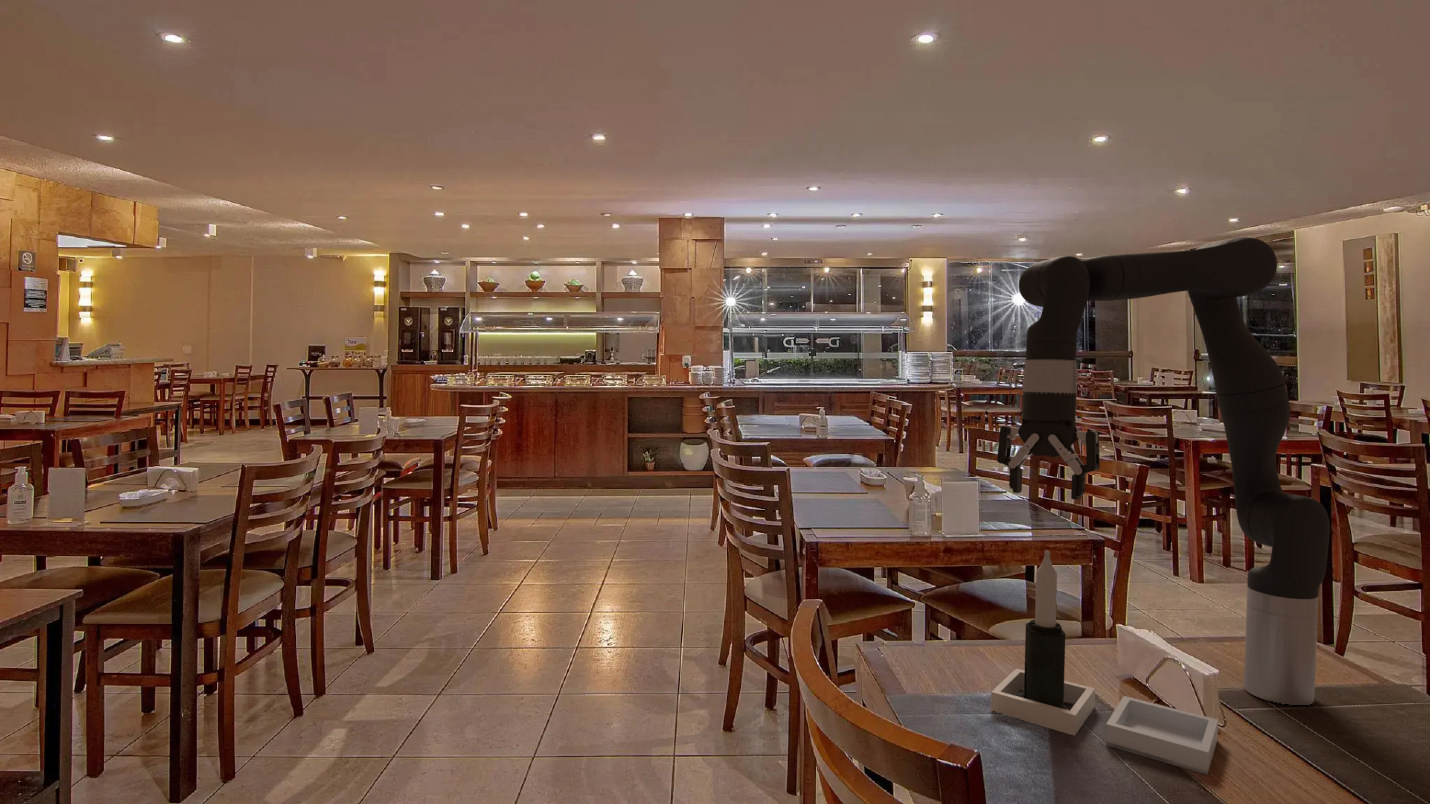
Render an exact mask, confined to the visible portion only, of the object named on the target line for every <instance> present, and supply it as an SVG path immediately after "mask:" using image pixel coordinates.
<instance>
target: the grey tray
mask: <svg viewBox="0 0 1430 804" xmlns="http://www.w3.org/2000/svg"><path fill="white" fill-rule="evenodd" d="M1218 734H1219V719H1216V718H1212V717H1209V716H1205V715H1201V714H1196V713H1192V712H1189V711H1185V710H1183V709H1182V710H1181V709H1178V708H1174V707H1170V706H1166V705H1162V704H1157V703H1154V702H1150V701H1147V700H1142V699H1137V698H1134V697H1131V696H1126V695H1123V696H1122V697H1121V700H1120V701H1119V702H1118V704H1117V706H1116V708H1115V709H1114V711H1113V712H1112V714H1111V716H1110V717H1109V719H1108V720H1107V722H1106V724H1105V745H1106V746H1108V747H1111V748H1115V749H1119V750H1122V751H1125V752H1129V753H1132V754H1135V755H1139V756H1142V757H1144V758H1145V757H1146V758H1147V759H1148V758H1149V759H1153V760H1156V761H1158V762H1159V761H1160V762H1163V763H1165V764H1169V765H1173V766H1176V767H1179V768H1183V769H1187V770H1189V771H1193V772H1196V773H1200V774H1203V775H1206V776H1208V775H1209V771H1210V768H1211V765H1212V761H1213V758H1214V754H1215V750H1216V746H1217V743H1218V739H1219V736H1218Z"/></svg>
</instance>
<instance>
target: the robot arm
mask: <svg viewBox="0 0 1430 804" xmlns="http://www.w3.org/2000/svg"><path fill="white" fill-rule="evenodd" d="M1277 268H1278V261H1277V255H1276V253H1275V251H1274V249H1273V248H1272V247H1271V246H1270V245H1269V244H1268V243H1267V242H1265V241H1263V240H1261V239H1259V238H1255V237H1246V236H1245V237H1237V238H1235V237H1234V238H1231V239H1227V240H1222V241H1218V242H1215V243H1209V244H1206V245H1201V246H1199V247H1197V248H1195V249H1187V250H1179V251H1178V250H1176V251H1163V252H1162V251H1161V252H1159V251H1157V252H1140V253H1138V252H1137V253H1120V254H1119V253H1118V254H1108V255H1107V254H1106V255H1105V254H1104V255H1099V256H1098V255H1097V256H1094V257H1089V258H1085V259H1080V258H1078V257H1076V256H1072V255H1062V256H1057V257H1053V258H1050V259H1049V258H1048V259H1046V260H1041V261H1038V262H1034V263H1033V264H1031V265H1029V266H1028V267H1027V268H1026V269H1025V270H1023V272H1022V274H1021V276H1020V278H1019V279H1018V280H1019V281H1018V291H1019V294H1020V295H1021V296H1022V297H1021V298H1022V299H1023V300H1025V302H1027V303H1029V304H1030V305H1032V306H1036V307H1040V308H1042V309H1041V310H1042V311H1041V315H1040V317H1039V319H1038V320H1036V321H1035V322H1033V323H1031V324H1030V325H1029V327H1028V328H1027V331H1026V337H1025V338H1026V340H1025V341H1026V345H1025V346H1026V347H1025V362H1024V370H1023V377H1022V378H1023V379H1022V385H1021V388H1022V404H1021V405H1022V406H1021V407H1022V408H1021V425H1020V426H1019V427H1018V426H1017V427H1016V426H1012V425H1002V426H1001V427H1000V428H999V434H998V435H999V437H998V444H997V445H998V446H997V447H998V448H997V457H996V461H997V463H998V464H1002V465H1004V466H1007V467H1008V469H1009V475H1008V477H1009V478H1008V479H1009V480H1008V481H1009V482H1008V486H1009V489H1011V490H1012V493H1014V494H1019V493H1022V489H1023V468H1021V467H1022V465H1023V464H1025V461H1027V460H1028V459H1029V458H1030V457H1031V456H1032V455H1034V456H1035V457H1041V456H1046V457H1050V458H1060V457H1061V459H1062V460H1063V461H1064V462H1065V463H1066V464H1067V465H1068V467H1069V468H1070V470H1071V471H1072V472H1073V474H1072V475H1071V491H1070V492H1071V493H1070V494H1071V495H1070V498H1071V500H1073V501H1074V500H1076V501H1078V500H1080V498H1081V497H1082V496H1083V495H1084V494H1085V491H1086V475H1087V474H1088V473H1091V472H1095V471H1098V470H1100V468H1101V467H1100V466H1101V465H1100V463H1101V462H1100V460H1101V459H1100V456H1101V455H1100V433H1099V432H1098V430H1095V429H1094V430H1088V431H1087V430H1086V431H1085V430H1084V431H1081V430H1080V431H1079V430H1078V428H1077V426H1076V422H1077V421H1076V420H1077V419H1076V418H1077V395H1078V393H1077V392H1078V370H1077V348H1078V347H1077V345H1078V342H1077V341H1078V339H1077V338H1078V336H1077V334H1078V330H1079V328H1080V325H1081V323H1082V319H1083V316H1084V313H1085V309H1086V306H1087V302H1111V301H1122V300H1124V301H1125V300H1134V299H1142V298H1148V297H1153V296H1154V297H1155V296H1160V295H1166V294H1174V293H1179V292H1187V294H1188V297H1189V300H1190V302H1191V305H1192V308H1193V311H1194V314H1195V316H1196V319H1197V322H1198V325H1199V328H1200V330H1201V333H1202V334H1201V335H1202V338H1203V341H1204V345H1205V349H1206V353H1207V356H1208V361H1209V364H1210V369H1211V373H1212V377H1213V378H1212V379H1213V383H1214V389H1215V395H1216V398H1217V402H1218V403H1217V404H1218V408H1219V412H1220V416H1221V419H1222V422H1223V427H1224V432H1225V437H1226V438H1225V439H1226V443H1227V447H1228V454H1229V458H1230V459H1229V460H1230V463H1231V464H1230V465H1231V469H1232V470H1231V471H1232V479H1233V481H1232V482H1233V490H1234V500H1235V501H1234V502H1235V510H1236V511H1235V512H1236V517H1237V521H1238V524H1239V527H1240V529H1241V531H1242V532H1243V533H1242V534H1244V535H1245V536H1246V537H1247V538H1248V539H1249V540H1250V541H1253V542H1255V543H1257V544H1260V545H1264V546H1266V547H1271V553H1270V561H1269V563H1268V564H1267V565H1264V566H1263V565H1262V566H1255V567H1252V568H1250V569H1249V571H1248V573H1247V579H1246V581H1247V582H1246V583H1247V586H1246V587H1247V588H1246V589H1247V590H1246V612H1245V613H1246V615H1245V641H1244V642H1245V644H1244V665H1243V666H1244V667H1243V688H1244V690H1245V691H1246V692H1247V693H1249V694H1250V695H1253V696H1255V697H1257V698H1260V699H1262V700H1264V701H1268V702H1271V701H1273V702H1272V703H1275V702H1277V703H1276V704H1279V703H1281V705H1284V704H1289V705H1288V706H1291V705H1307V704H1312V703H1313V702H1314V703H1315V693H1316V692H1315V691H1316V690H1315V687H1316V671H1317V670H1316V669H1317V668H1316V667H1317V646H1318V645H1317V643H1318V641H1317V640H1318V619H1319V617H1318V616H1319V614H1318V613H1319V592H1320V586H1321V585H1322V583H1323V580H1324V579H1325V578H1326V577H1325V575H1326V571H1327V563H1328V553H1329V548H1330V547H1329V545H1330V535H1331V524H1330V518H1329V514H1328V512H1327V510H1326V508H1325V507H1324V506H1323V504H1322V503H1321V502H1319V501H1318V500H1316V499H1314V498H1311V497H1308V496H1305V495H1299V494H1296V493H1295V494H1293V493H1288V492H1284V491H1283V489H1282V485H1281V483H1280V479H1279V474H1278V473H1279V472H1278V468H1277V453H1278V450H1279V447H1280V445H1281V442H1282V440H1283V437H1284V435H1285V433H1286V431H1287V428H1288V425H1289V422H1290V418H1291V404H1290V401H1289V395H1288V390H1287V385H1286V382H1285V377H1284V374H1283V371H1282V370H1281V367H1280V366H1279V365H1278V362H1276V361H1275V359H1274V358H1273V357H1272V356H1271V354H1270V353H1269V352H1268V351H1267V350H1266V348H1264V347H1263V345H1262V344H1261V343H1260V342H1259V341H1258V340H1257V339H1256V338H1255V336H1254V335H1253V334H1252V333H1251V332H1250V331H1249V328H1248V327H1247V325H1246V323H1245V321H1244V320H1243V317H1242V314H1241V313H1242V312H1241V310H1240V306H1239V302H1238V298H1241V297H1245V296H1246V297H1247V296H1250V295H1254V294H1255V293H1256V294H1257V293H1259V292H1261V291H1262V290H1265V288H1267V287H1268V286H1269V285H1270V284H1271V283H1272V281H1273V280H1274V279H1275V276H1276V274H1277V270H1278V269H1277ZM1017 436H1018V437H1019V438H1020V439H1021V440H1022V442H1023V445H1022V446H1021V447H1020V448H1019V449H1018V450H1017V452H1016V454H1015V455H1014V456H1013V457H1011V453H1012V444H1013V443H1012V442H1013V441H1014V440H1015V439H1017ZM1078 439H1079V440H1080V441H1081V444H1082V445H1083V446H1085V455H1086V456H1085V457H1086V459H1085V460H1086V461H1085V464H1084V463H1083V462H1082V460H1081V459H1080V457H1079V455H1078V453H1077V452H1076V451H1075V449H1074V448H1073V445H1074V443H1075V442H1076V441H1078ZM1314 703H1313V704H1314ZM1290 704H1291V705H1290ZM1313 704H1312V705H1313Z"/></svg>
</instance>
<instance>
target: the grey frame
mask: <svg viewBox="0 0 1430 804" xmlns="http://www.w3.org/2000/svg"><path fill="white" fill-rule="evenodd" d="M1024 673H1025V669H1024V670H1023V669H1019V668H1015V669H1014V670H1013V671H1012V672H1011V673H1010V674H1009V675H1007V676H1006V678H1004V679H1003V680H1002V681H1001V682H1000V683H999V684H998V685H997V686H996V687H995V688H994V689H993V690H992V691H991V693H990V695H991V696H990V699H991V701H990V711H991V710H993V711H995V712H994V713H996V712H997V713H998V714H999V713H1002V714H1001V715H1003V714H1006V715H1009V716H1008V717H1010V716H1012V717H1011V718H1013V717H1014V718H1013V719H1016V718H1019V719H1018V720H1020V719H1021V720H1020V721H1023V720H1024V722H1027V723H1031V724H1034V725H1038V726H1040V727H1043V728H1047V729H1050V730H1053V731H1057V732H1061V733H1064V734H1067V735H1071V736H1076V735H1077V733H1078V732H1079V730H1080V729H1081V728H1082V727H1083V724H1084V723H1085V722H1086V721H1087V719H1088V717H1089V716H1090V715H1091V713H1092V712H1093V710H1094V709H1095V708H1096V706H1095V704H1096V703H1095V701H1096V688H1094V687H1090V686H1087V685H1084V684H1083V685H1082V684H1079V683H1075V682H1072V681H1071V682H1070V681H1067V680H1064V703H1068V704H1071V705H1072V707H1071V708H1070V710H1068V709H1064V708H1063V709H1061V708H1058V707H1054V706H1050V705H1047V704H1043V703H1039V702H1036V701H1032V700H1029V699H1025V698H1024V697H1021V696H1017V693H1018V692H1019V691H1023V692H1024ZM993 711H992V712H993ZM997 713H996V714H997ZM1006 715H1005V716H1006Z"/></svg>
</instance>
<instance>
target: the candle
mask: <svg viewBox="0 0 1430 804" xmlns="http://www.w3.org/2000/svg"><path fill="white" fill-rule="evenodd" d="M1050 555H1051V552H1050V551H1049V550H1048V549H1045V550H1044V555H1043V556H1044V557H1043V560H1042V562H1041V564H1040V566H1039V567H1038V568H1037V570H1036V572H1035V573H1036V575H1035V580H1036V581H1035V613H1034V616H1035V617H1034V619H1031V620H1030V621H1029V622H1026V623H1025V638H1024V639H1025V642H1024V671H1025V673H1024V691H1023V698H1025V699H1029V700H1032V701H1036V702H1039V703H1043V704H1047V705H1050V706H1054V707H1058V708H1061V709H1064V706H1065V705H1064V703H1065V702H1064V681H1065V669H1066V667H1065V665H1066V663H1065V662H1066V658H1065V657H1066V632H1065V631H1064V630H1063V626H1061V624H1060V623H1058V622H1057V597H1058V596H1057V593H1058V587H1057V585H1058V573H1057V571H1056V569H1055V567H1054V566H1053V563H1052V560H1051V556H1050Z"/></svg>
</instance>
